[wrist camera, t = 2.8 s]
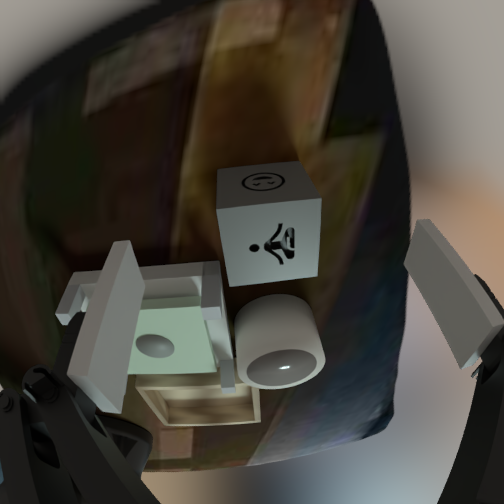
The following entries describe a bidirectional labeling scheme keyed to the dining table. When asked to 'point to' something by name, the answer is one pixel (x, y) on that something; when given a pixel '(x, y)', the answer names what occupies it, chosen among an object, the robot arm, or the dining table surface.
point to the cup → (277, 342)
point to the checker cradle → (170, 286)
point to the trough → (199, 399)
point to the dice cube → (268, 222)
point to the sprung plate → (171, 338)
